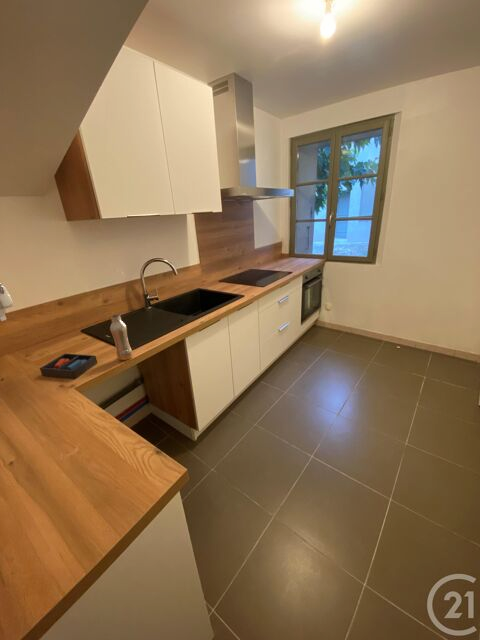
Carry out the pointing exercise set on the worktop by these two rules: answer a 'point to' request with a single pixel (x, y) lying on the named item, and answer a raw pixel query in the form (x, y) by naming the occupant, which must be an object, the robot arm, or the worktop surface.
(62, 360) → the red block
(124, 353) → the plastic bottle
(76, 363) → the blue block
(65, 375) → the organiser
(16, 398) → the worktop surface
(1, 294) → the robot arm
